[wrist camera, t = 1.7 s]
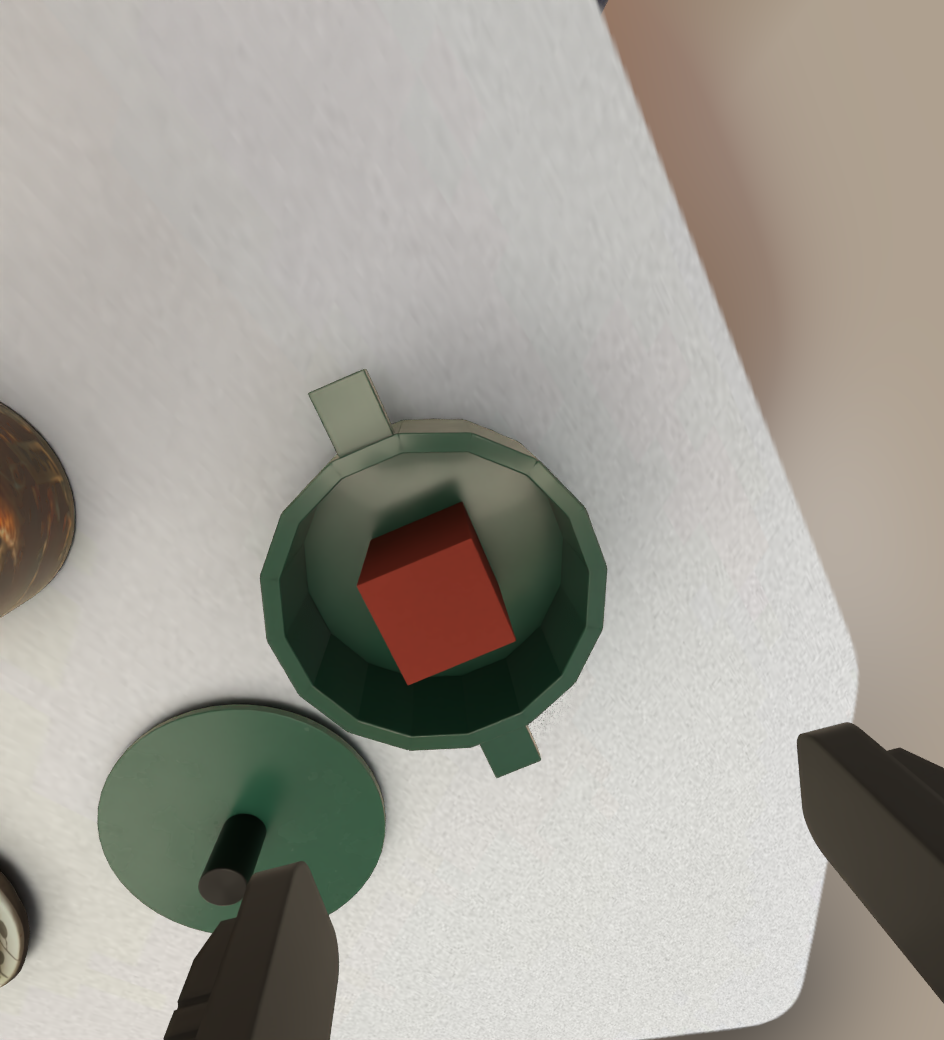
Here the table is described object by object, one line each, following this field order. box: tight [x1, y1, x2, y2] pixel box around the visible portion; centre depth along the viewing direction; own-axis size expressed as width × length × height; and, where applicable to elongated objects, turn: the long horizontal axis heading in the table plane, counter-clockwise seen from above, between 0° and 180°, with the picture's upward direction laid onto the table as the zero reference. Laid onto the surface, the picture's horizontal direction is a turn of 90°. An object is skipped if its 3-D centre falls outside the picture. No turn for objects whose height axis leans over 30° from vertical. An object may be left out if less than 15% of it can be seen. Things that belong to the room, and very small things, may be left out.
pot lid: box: [97, 704, 386, 933], centre depth 31 cm, size 16×16×5 cm
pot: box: [260, 369, 607, 778], centre depth 27 cm, size 15×20×6 cm
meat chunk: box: [357, 502, 516, 685], centre depth 26 cm, size 5×5×6 cm
